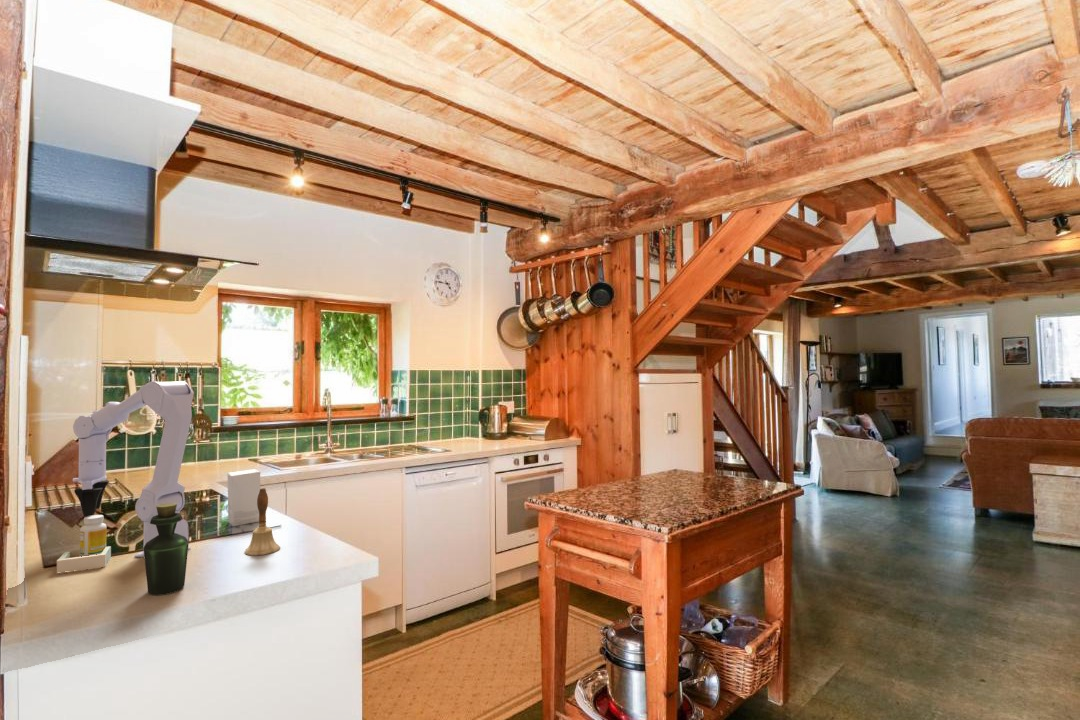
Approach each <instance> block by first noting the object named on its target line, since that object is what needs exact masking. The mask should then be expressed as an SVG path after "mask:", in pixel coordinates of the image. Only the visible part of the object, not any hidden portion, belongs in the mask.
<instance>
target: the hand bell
mask: <svg viewBox="0 0 1080 720" xmlns="http://www.w3.org/2000/svg"><path fill="white" fill-rule="evenodd" d="M268 505H269V496H268V493H267V490H266V488H265V487H264V488H260V492H259V494H258V498H257V507H258V510H259V522H258V526H257V528H256V529H254V530H253V531H252V536H251V540H250V544H249V545H248V546H247V547H246V549H245V551H244V554H245V555H246V554H247V556H254V555H255V556H264V555H270V554H272V553H275V552H278V551H279V550H280V549H281V546H280V545H279V543H277V542H276V541H275V539H274V535H273V530H272V528H271V527H268V526H267V516H266V515H267V514H266V513H267V511H268V510H267V509H268Z"/></svg>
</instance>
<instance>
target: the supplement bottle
mask: <svg viewBox="0 0 1080 720" xmlns="http://www.w3.org/2000/svg"><path fill="white" fill-rule="evenodd" d="M104 517H105V516H104V515H103V514H94V515H89V516H84V518H83V524H84V525H82V526H81V527H80V529H79V556H80V555H96V554H101V553H102V552H103V550H104V549H105V547H107V534H108V533H107V531H108V530H107V527H108V526H107V524H106V523H104Z"/></svg>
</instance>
